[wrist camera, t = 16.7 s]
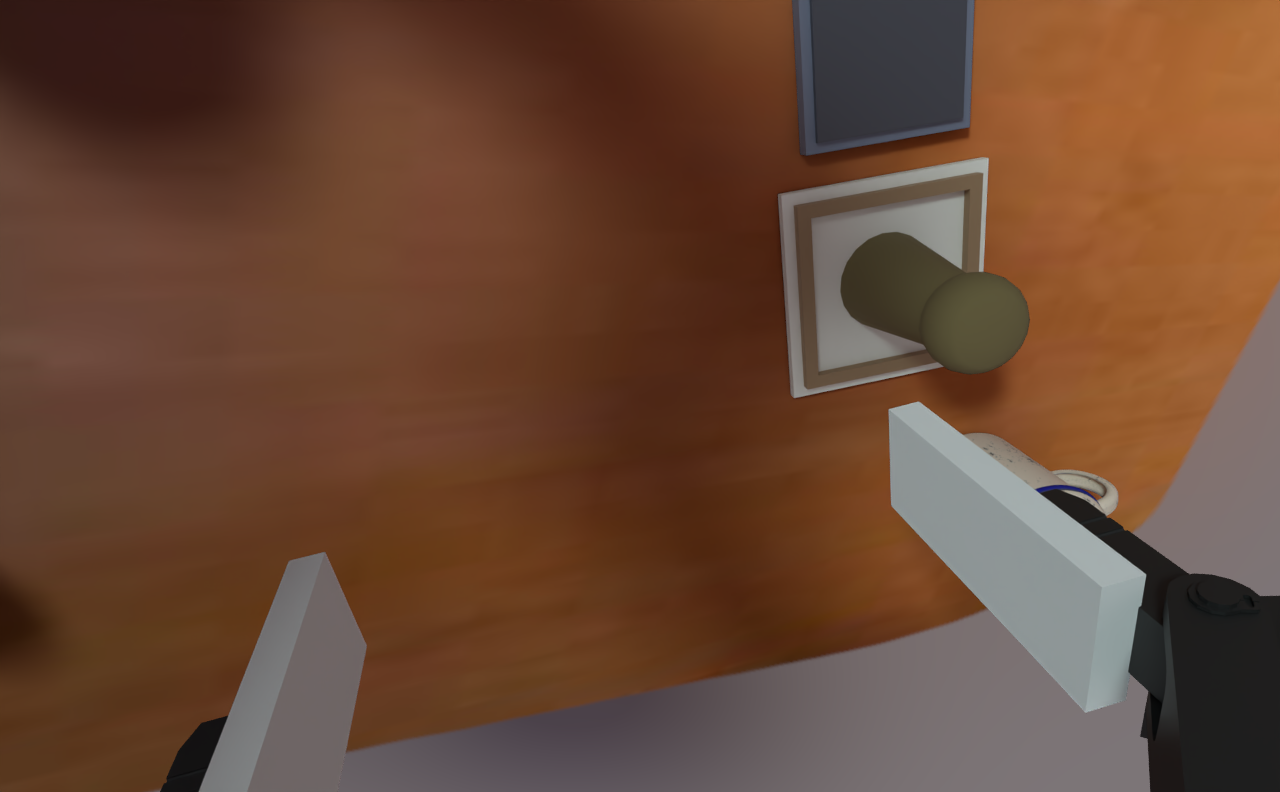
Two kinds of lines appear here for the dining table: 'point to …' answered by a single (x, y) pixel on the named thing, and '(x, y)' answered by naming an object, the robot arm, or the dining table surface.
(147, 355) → the dining table surface
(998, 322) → the olive knob handle
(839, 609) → the dining table surface
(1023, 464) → the teacup with lid
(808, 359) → the board
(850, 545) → the dining table surface
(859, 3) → the ink pad
